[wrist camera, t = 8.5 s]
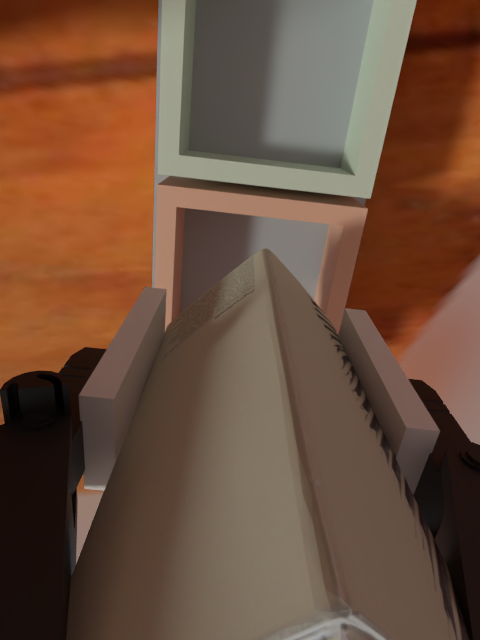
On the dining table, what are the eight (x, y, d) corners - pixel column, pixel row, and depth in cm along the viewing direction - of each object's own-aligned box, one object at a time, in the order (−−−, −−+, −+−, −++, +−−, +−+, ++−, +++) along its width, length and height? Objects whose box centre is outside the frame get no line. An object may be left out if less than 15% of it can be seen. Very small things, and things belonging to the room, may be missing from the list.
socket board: (165, -73, 17) (142, -126, 13) (413, -40, 17) (458, -82, 14) (154, 332, 24) (138, 369, 21) (326, 350, 25) (340, 389, 21)
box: (237, 394, 18) (218, 905, 6) (163, 321, 16) (-40, 804, 5) (342, 321, 16) (576, 817, 5) (270, 234, 15) (351, 631, 3)
